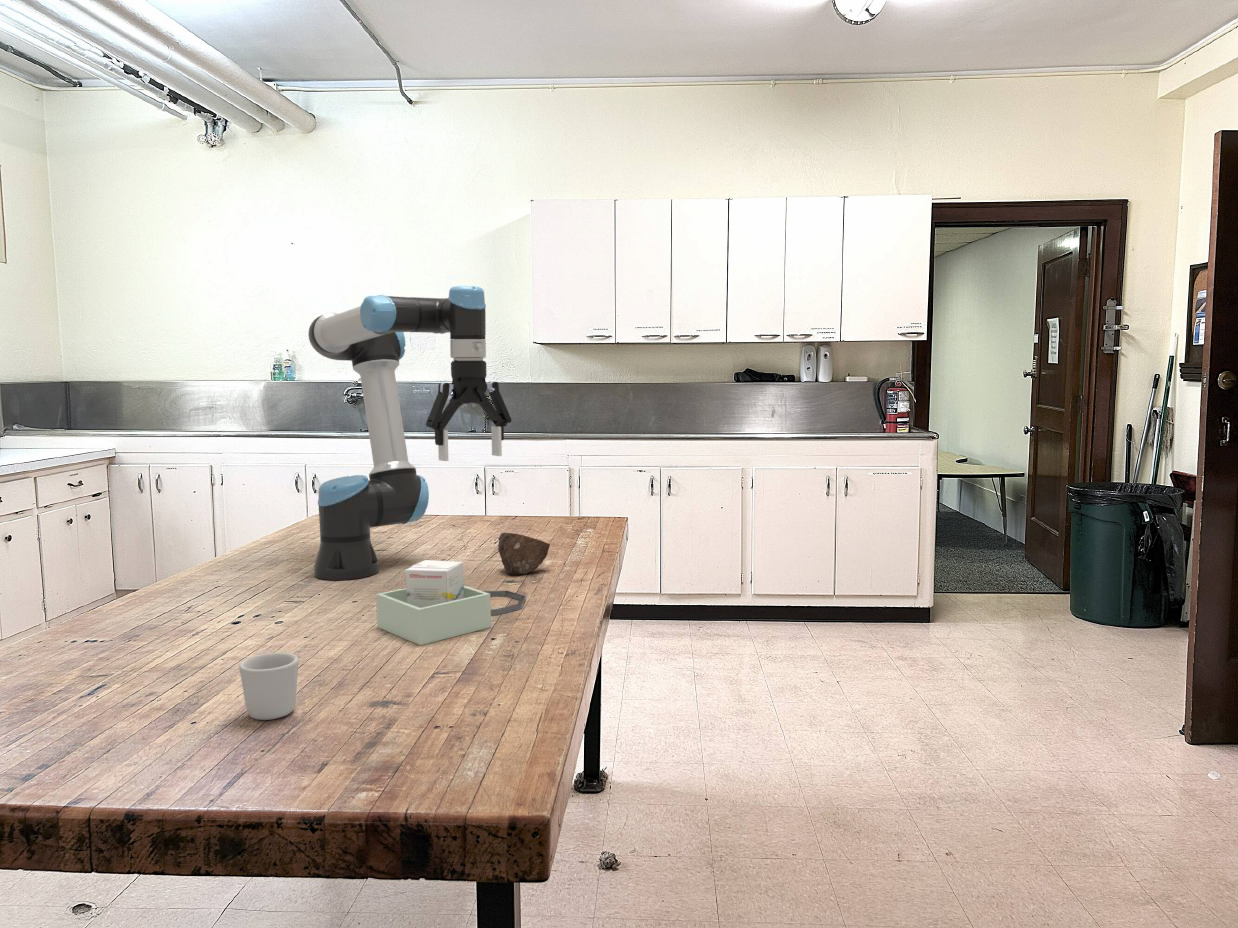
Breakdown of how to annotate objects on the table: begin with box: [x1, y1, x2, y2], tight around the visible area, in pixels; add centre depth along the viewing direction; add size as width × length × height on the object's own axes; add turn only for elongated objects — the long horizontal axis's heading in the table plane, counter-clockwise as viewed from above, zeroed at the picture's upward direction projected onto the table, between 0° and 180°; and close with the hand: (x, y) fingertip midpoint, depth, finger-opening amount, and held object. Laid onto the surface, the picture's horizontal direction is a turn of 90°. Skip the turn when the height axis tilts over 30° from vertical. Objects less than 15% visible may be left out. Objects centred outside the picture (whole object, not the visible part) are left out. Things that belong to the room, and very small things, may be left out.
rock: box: [497, 532, 551, 576], centre depth 213 cm, size 12×10×10 cm
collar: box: [482, 590, 526, 616], centre depth 186 cm, size 16×16×1 cm
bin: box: [375, 585, 492, 646], centre depth 170 cm, size 16×16×7 cm
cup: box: [238, 652, 299, 721], centre depth 130 cm, size 11×8×8 cm
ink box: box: [404, 559, 465, 608], centre depth 170 cm, size 9×8×12 cm
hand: (470, 458), depth 192 cm, fingers open, 13 cm apart
